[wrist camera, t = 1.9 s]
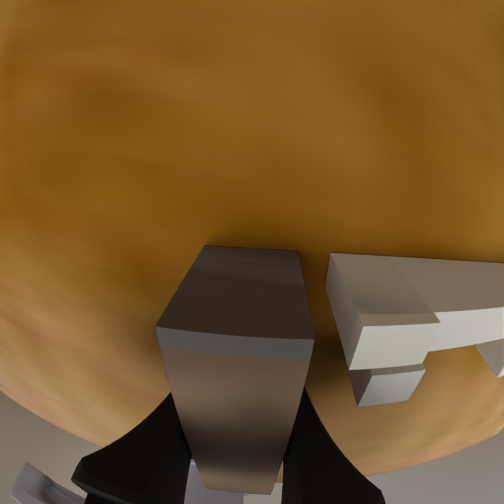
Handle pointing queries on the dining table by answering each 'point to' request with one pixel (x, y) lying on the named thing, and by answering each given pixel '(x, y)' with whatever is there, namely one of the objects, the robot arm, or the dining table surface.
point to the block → (238, 362)
